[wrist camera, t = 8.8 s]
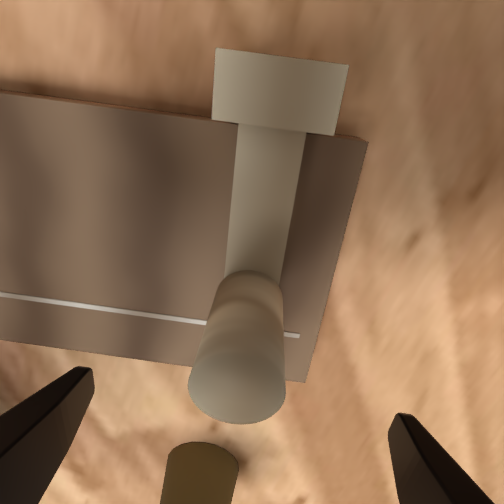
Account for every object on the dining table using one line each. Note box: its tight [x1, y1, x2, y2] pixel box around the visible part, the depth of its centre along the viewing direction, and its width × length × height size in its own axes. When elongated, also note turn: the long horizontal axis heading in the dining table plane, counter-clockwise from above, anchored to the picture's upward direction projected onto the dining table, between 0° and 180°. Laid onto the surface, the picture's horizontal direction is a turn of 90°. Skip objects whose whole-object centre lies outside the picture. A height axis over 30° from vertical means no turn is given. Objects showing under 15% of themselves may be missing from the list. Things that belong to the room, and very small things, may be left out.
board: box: [0, 90, 368, 383], centre depth 17 cm, size 20×14×2 cm
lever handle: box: [188, 48, 349, 424], centre depth 13 cm, size 4×13×9 cm, turn 173°
